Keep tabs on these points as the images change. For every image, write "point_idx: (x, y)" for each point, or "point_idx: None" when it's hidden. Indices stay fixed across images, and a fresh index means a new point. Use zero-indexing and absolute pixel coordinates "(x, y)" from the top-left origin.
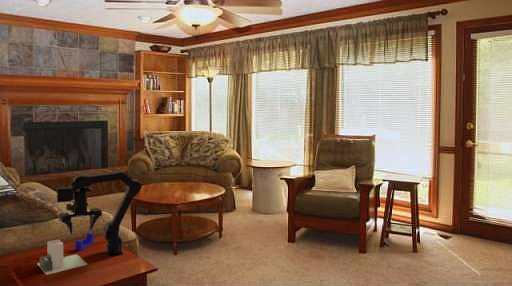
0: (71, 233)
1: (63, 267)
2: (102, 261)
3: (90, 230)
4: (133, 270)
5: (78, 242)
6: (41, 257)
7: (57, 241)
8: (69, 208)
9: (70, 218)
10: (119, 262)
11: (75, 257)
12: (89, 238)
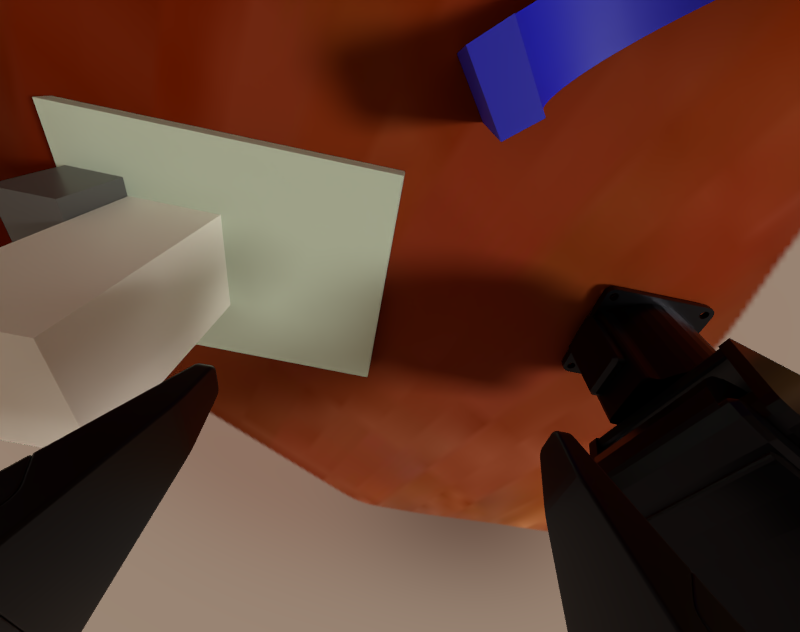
0: (202, 409)
1: (226, 316)
2: (474, 373)
3: (541, 451)
4: (495, 509)
5: (483, 97)
6: (6, 205)
7: (20, 384)
8: None
9: None
10: (525, 435)
11: (359, 233)
12: None
